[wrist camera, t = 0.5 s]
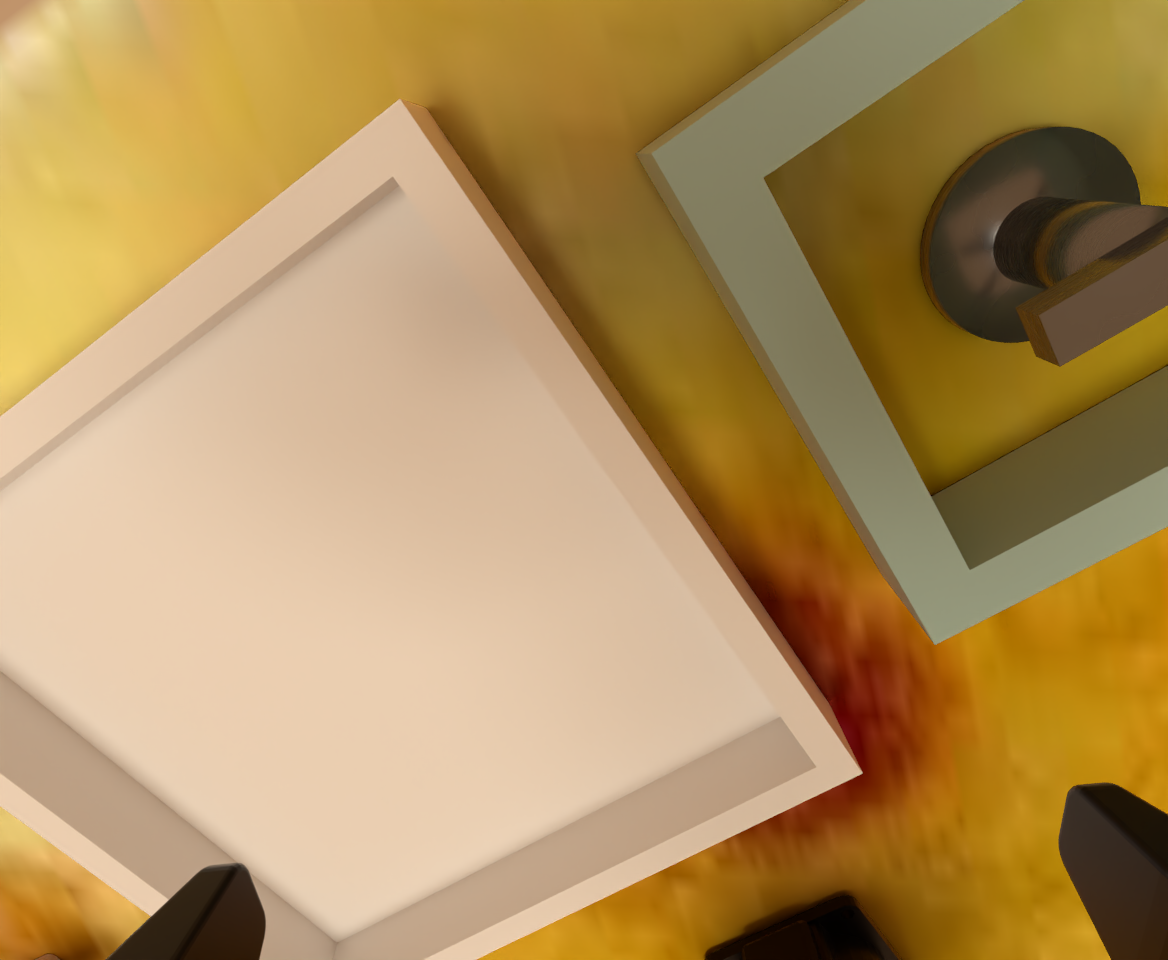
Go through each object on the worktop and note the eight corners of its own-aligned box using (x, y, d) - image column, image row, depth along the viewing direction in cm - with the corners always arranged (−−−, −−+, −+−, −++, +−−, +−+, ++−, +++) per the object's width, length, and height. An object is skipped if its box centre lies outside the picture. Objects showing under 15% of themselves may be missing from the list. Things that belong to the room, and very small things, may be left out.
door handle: (1148, 266, 19) (1345, 303, 14) (965, 373, 20) (1090, 441, 15) (1085, 81, 17) (1285, 52, 12) (888, 209, 18) (1002, 228, 13)
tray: (829, 703, 24) (862, 773, 22) (339, 952, 29) (315, 1036, 26) (426, 107, 17) (399, 98, 14) (-150, 559, 21) (-255, 619, 19)
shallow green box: (1366, 314, 20) (1524, 344, 16) (882, 575, 22) (934, 645, 19) (1232, -274, 15) (1418, -395, 12) (635, 153, 18) (651, 153, 14)
